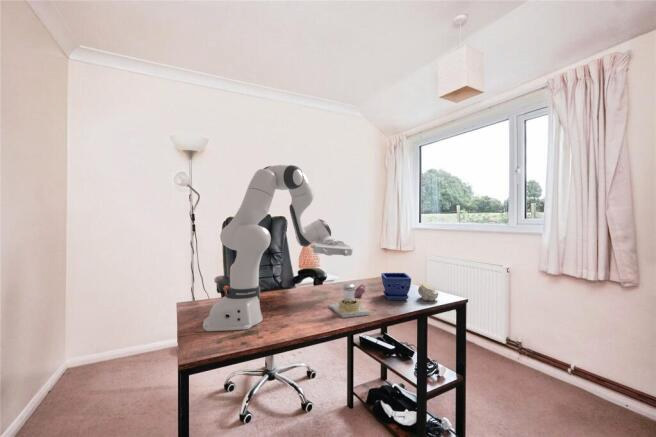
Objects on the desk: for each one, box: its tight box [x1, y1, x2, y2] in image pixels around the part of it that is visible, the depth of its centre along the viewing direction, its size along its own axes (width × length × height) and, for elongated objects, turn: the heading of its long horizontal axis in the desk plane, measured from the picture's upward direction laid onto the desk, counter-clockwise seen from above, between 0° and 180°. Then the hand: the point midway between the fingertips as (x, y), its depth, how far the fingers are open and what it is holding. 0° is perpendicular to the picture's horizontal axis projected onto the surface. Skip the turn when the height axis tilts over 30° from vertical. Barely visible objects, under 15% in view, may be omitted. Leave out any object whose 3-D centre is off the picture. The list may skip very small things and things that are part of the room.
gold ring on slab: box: [329, 298, 371, 319], centre depth 128 cm, size 13×15×4 cm
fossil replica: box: [417, 282, 439, 302], centre depth 145 cm, size 12×8×10 cm
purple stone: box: [355, 283, 366, 298], centre depth 153 cm, size 10×5×7 cm, turn 170°
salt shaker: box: [342, 283, 356, 304], centre depth 128 cm, size 5×5×10 cm
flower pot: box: [381, 272, 412, 301], centre depth 148 cm, size 13×13×12 cm
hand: (336, 253), depth 137 cm, fingers open, 8 cm apart
